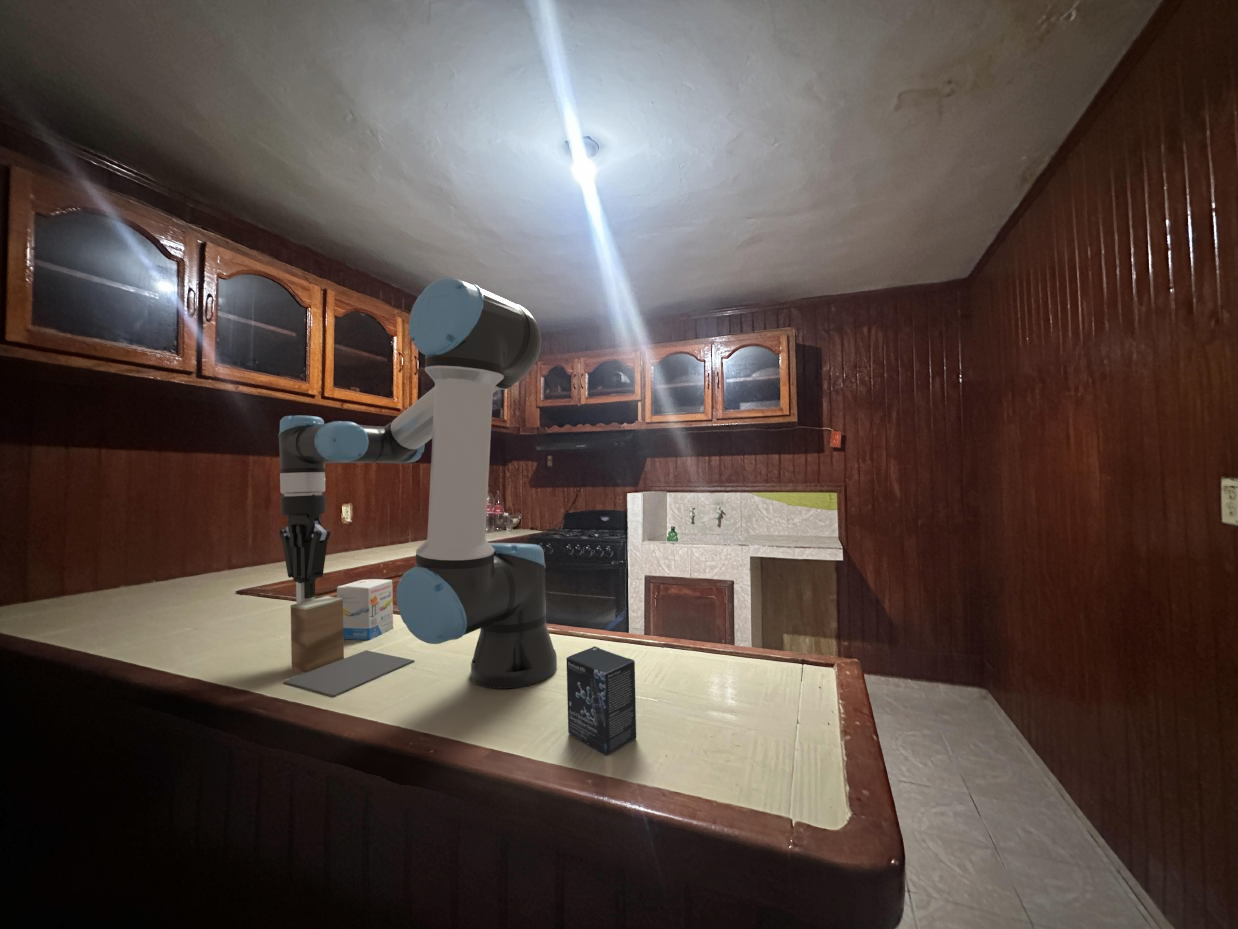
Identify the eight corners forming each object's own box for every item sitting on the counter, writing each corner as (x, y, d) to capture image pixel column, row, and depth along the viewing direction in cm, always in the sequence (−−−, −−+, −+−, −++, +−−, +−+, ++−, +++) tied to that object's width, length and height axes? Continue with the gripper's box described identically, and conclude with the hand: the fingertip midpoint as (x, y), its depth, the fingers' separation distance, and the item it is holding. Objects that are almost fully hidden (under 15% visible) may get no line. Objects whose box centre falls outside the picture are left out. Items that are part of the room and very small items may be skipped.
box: (567, 735, 66) (565, 656, 66) (597, 719, 70) (595, 645, 70) (607, 758, 60) (605, 672, 60) (638, 739, 64) (635, 658, 64)
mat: (414, 661, 94) (414, 660, 94) (333, 697, 79) (333, 695, 79) (366, 651, 100) (366, 650, 100) (283, 682, 85) (283, 681, 85)
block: (343, 659, 96) (342, 598, 96) (307, 672, 90) (306, 607, 90) (327, 655, 98) (326, 596, 98) (291, 668, 92) (290, 605, 92)
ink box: (369, 640, 107) (368, 587, 107) (335, 639, 108) (335, 586, 109) (394, 628, 115) (393, 578, 115) (363, 627, 117) (362, 578, 117)
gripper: (342, 493, 97) (345, 612, 96) (303, 494, 102) (305, 606, 102) (304, 495, 90) (306, 623, 89) (264, 495, 96) (266, 616, 95)
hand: (306, 614), depth 96 cm, fingers closed
